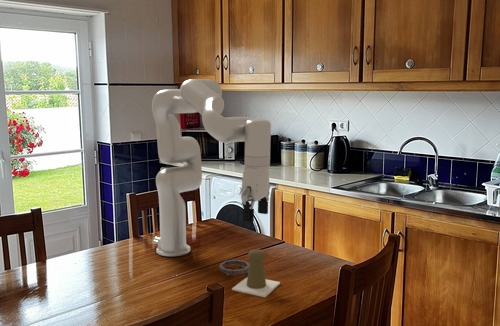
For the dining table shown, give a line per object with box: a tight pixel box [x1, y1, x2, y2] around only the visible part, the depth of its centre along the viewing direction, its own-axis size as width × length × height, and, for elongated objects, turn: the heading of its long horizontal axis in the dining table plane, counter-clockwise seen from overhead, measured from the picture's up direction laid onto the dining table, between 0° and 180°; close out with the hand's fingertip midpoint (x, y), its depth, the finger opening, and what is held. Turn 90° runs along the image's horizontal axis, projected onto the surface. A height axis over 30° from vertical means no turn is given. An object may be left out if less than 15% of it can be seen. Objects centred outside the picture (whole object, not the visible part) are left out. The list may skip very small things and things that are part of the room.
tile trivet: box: [231, 276, 281, 298], centre depth 147 cm, size 11×11×1 cm
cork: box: [246, 248, 266, 289], centre depth 146 cm, size 6×6×11 cm
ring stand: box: [219, 259, 250, 278], centre depth 159 cm, size 10×10×2 cm
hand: (255, 217), depth 144 cm, fingers open, 9 cm apart
